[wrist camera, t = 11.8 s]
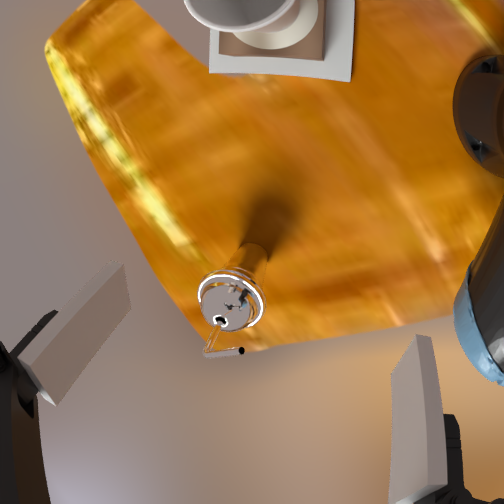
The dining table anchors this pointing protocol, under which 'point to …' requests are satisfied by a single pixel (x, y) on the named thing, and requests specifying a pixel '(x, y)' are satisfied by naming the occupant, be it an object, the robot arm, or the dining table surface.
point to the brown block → (283, 37)
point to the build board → (330, 68)
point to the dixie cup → (245, 14)
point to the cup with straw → (234, 296)
